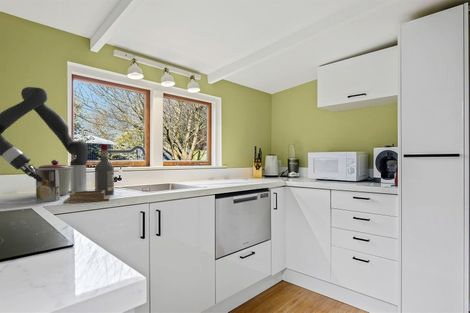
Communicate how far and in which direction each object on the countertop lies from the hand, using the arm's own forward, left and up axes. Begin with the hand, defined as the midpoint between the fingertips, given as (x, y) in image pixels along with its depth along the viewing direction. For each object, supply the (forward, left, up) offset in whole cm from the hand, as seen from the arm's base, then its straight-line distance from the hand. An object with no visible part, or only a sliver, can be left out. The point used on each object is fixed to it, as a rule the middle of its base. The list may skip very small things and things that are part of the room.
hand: (43, 180), depth 143 cm
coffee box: (0, +2, -11) cm, 11 cm away
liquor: (-12, +28, -11) cm, 32 cm away
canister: (-22, +1, -11) cm, 25 cm away
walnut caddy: (+6, +21, -11) cm, 24 cm away
